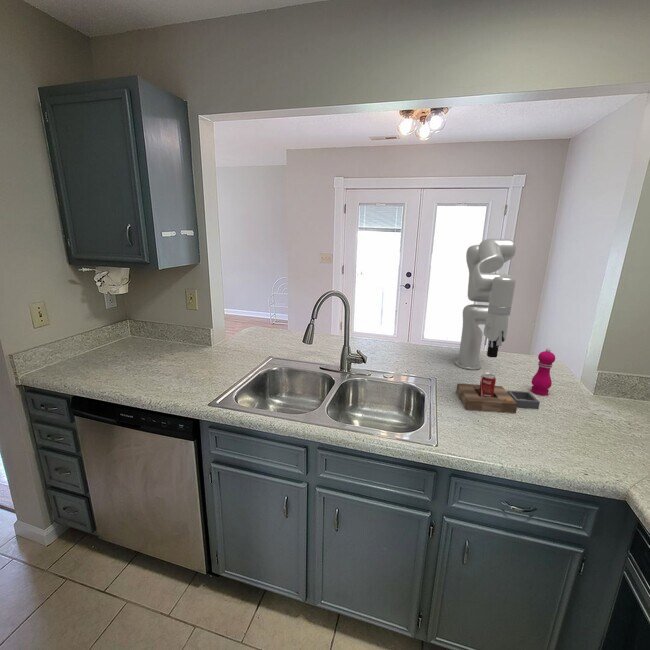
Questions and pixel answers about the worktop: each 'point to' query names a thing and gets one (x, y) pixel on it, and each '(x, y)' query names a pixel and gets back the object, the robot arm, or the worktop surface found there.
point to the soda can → (487, 385)
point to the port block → (486, 399)
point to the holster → (528, 403)
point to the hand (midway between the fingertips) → (491, 356)
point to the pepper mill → (543, 373)
